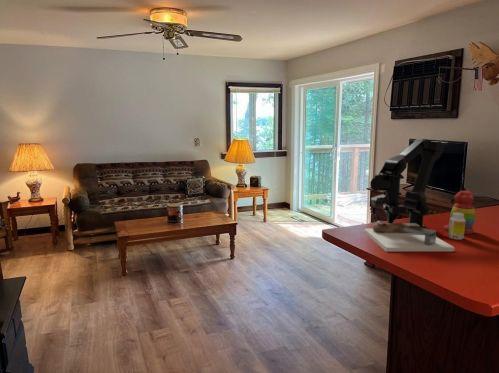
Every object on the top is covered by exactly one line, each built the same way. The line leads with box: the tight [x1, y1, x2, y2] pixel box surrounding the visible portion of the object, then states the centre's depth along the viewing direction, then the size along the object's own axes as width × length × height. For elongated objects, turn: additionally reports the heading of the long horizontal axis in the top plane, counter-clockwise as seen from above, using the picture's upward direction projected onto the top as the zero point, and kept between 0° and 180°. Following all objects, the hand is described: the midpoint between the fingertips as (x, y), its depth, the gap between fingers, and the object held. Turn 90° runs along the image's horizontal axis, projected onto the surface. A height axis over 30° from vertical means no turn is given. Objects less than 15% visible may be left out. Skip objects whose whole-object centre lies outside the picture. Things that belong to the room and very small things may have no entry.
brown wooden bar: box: [372, 222, 420, 232], centre depth 152 cm, size 18×5×2 cm, turn 91°
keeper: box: [404, 225, 438, 246], centre depth 140 cm, size 10×5×5 cm, turn 41°
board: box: [363, 220, 455, 252], centre depth 145 cm, size 24×25×6 cm
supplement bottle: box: [447, 212, 465, 240], centre depth 149 cm, size 6×6×10 cm
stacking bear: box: [443, 190, 476, 235], centre depth 158 cm, size 11×10×18 cm
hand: (389, 224), depth 159 cm, fingers closed
